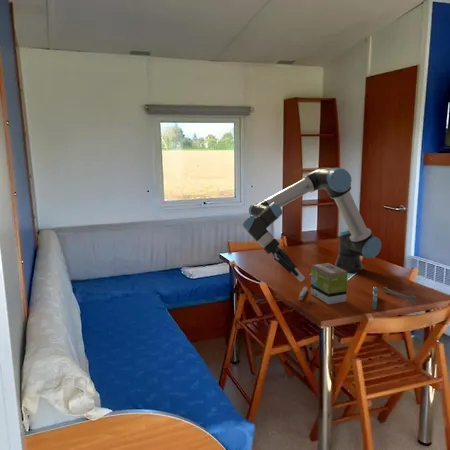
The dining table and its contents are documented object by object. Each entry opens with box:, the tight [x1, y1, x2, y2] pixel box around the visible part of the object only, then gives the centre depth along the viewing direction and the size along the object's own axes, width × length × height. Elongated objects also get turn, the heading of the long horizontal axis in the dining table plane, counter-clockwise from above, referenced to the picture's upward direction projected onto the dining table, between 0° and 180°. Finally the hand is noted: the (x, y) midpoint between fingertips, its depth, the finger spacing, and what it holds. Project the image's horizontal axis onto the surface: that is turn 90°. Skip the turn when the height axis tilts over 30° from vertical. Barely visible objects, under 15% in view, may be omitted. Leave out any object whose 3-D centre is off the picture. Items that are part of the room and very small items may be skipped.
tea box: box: [310, 262, 348, 305], centre depth 193 cm, size 15×10×15 cm
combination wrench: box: [382, 286, 418, 305], centre depth 193 cm, size 4×1×20 cm
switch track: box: [298, 286, 379, 310], centre depth 193 cm, size 16×34×5 cm, turn 70°
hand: (302, 280), depth 197 cm, fingers closed
